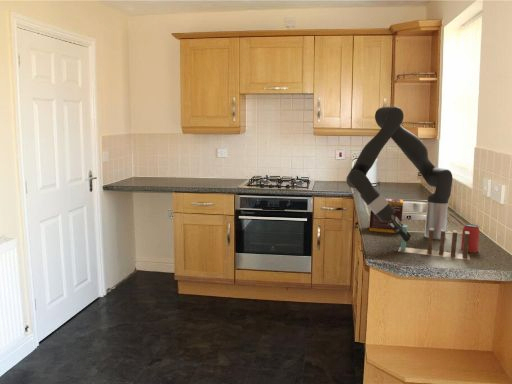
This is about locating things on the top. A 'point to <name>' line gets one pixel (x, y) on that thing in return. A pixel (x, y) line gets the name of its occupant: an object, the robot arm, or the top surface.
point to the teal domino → (403, 243)
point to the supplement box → (384, 226)
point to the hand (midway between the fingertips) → (408, 238)
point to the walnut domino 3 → (454, 243)
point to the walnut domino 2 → (442, 242)
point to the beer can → (471, 237)
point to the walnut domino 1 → (430, 240)
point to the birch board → (433, 253)
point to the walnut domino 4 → (466, 244)
